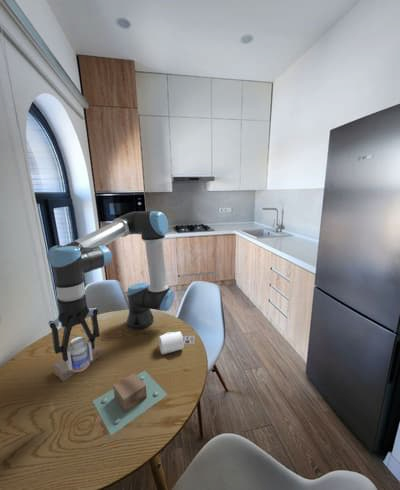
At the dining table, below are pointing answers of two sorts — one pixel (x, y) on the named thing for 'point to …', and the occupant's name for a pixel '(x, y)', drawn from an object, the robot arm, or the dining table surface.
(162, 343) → the mug
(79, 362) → the pill bottle
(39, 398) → the dining table surface
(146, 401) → the build board
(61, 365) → the brick
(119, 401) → the walnut block
